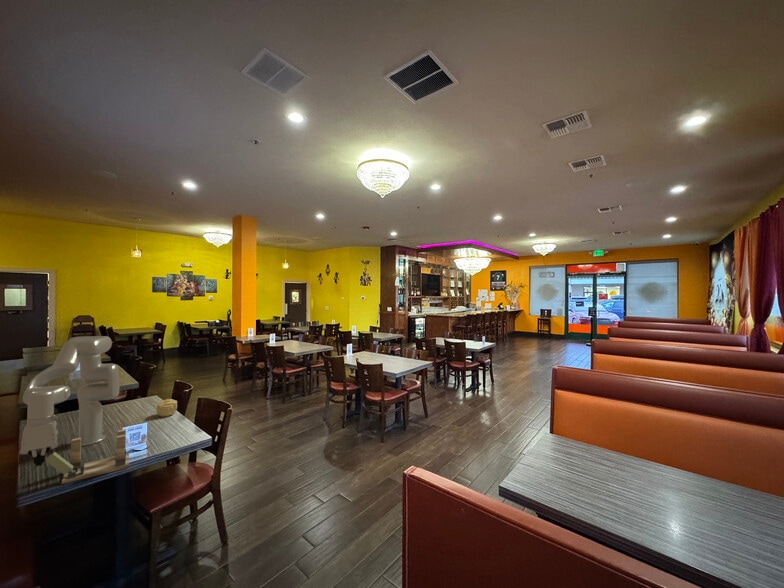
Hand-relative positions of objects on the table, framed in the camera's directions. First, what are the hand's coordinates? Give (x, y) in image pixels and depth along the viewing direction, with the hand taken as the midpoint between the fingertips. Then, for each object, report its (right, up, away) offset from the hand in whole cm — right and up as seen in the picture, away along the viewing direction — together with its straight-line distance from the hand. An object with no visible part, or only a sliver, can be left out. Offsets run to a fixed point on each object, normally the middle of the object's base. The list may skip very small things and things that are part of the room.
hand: (39, 464), depth 135 cm
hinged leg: (+8, -7, +6) cm, 12 cm away
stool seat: (+12, -10, +14) cm, 21 cm away
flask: (+15, -10, +35) cm, 40 cm away
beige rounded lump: (-5, -11, +83) cm, 84 cm away
